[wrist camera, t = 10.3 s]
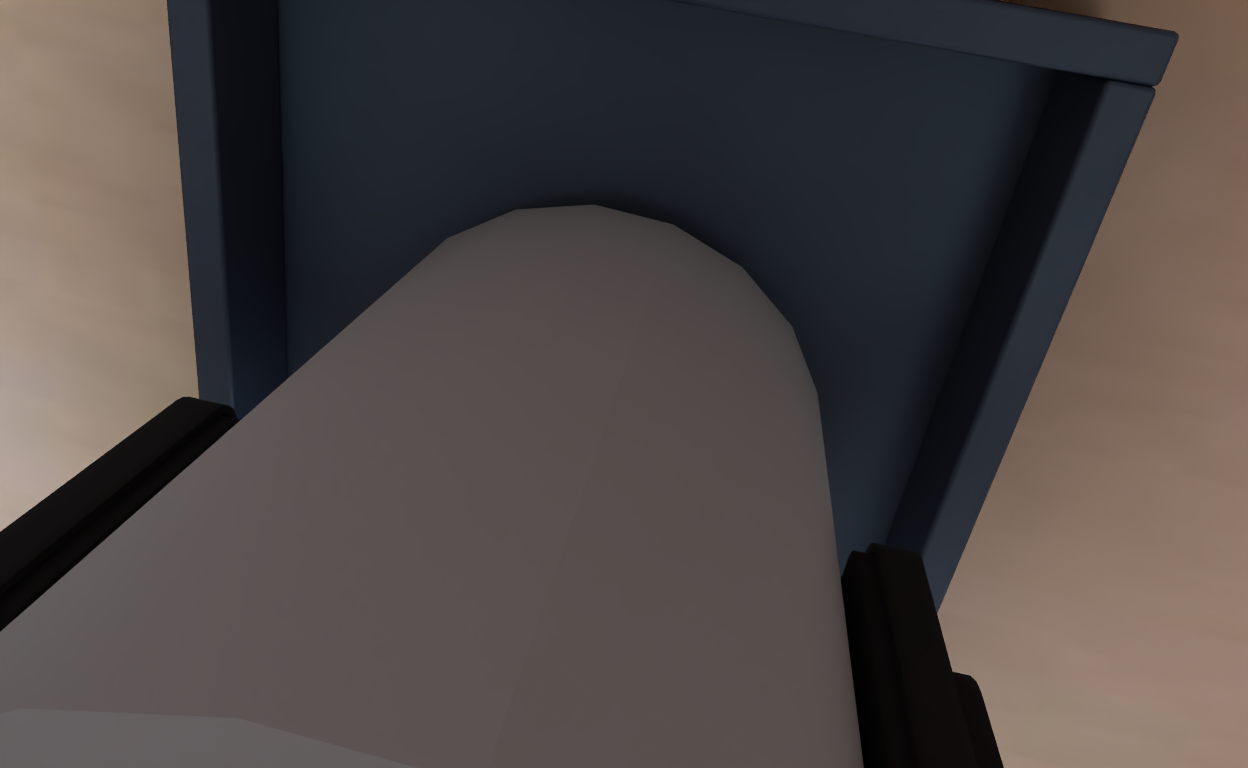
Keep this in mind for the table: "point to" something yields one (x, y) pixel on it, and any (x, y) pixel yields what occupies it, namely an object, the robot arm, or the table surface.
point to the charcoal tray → (683, 188)
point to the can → (479, 539)
